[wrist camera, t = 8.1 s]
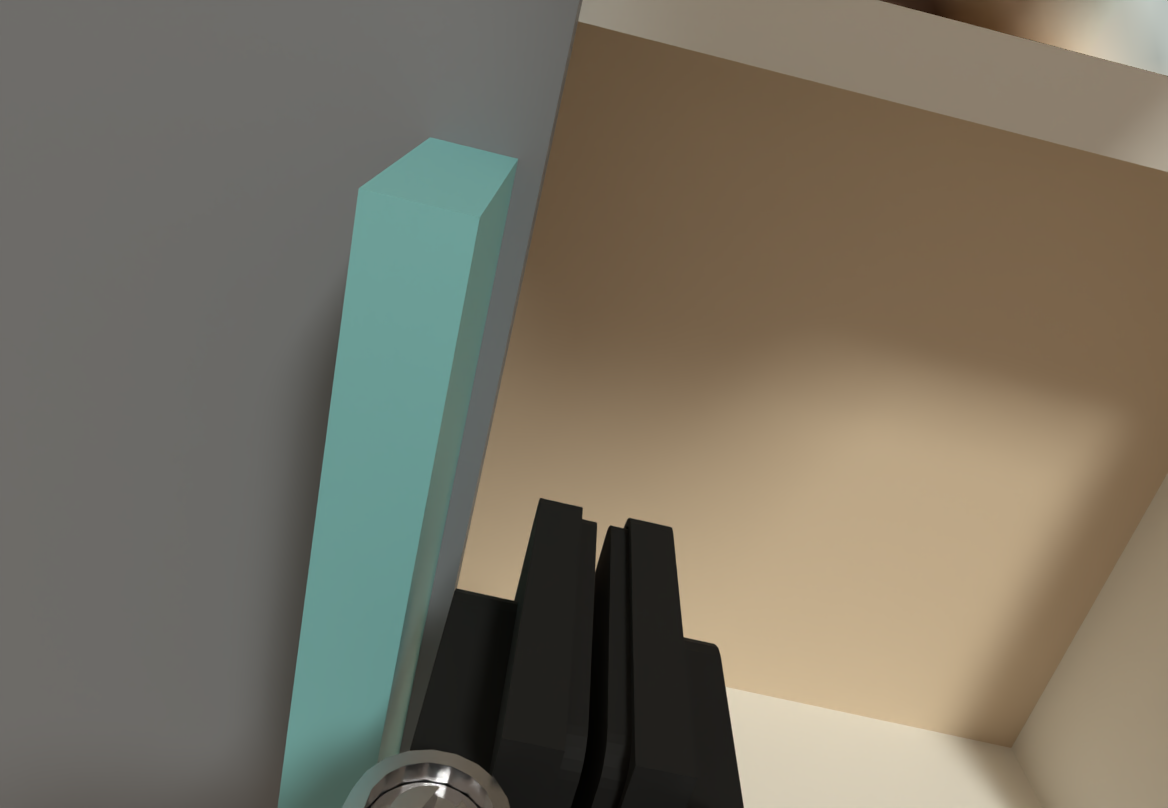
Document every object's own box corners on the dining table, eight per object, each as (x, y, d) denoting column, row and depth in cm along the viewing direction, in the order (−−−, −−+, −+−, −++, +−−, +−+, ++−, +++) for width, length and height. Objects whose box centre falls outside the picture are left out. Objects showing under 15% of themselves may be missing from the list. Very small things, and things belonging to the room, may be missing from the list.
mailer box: (1364, 150, 16) (1735, 224, 11) (1016, 755, 23) (1144, 997, 17) (268, -136, 15) (70, -212, 10) (211, 583, 21) (68, 785, 16)
